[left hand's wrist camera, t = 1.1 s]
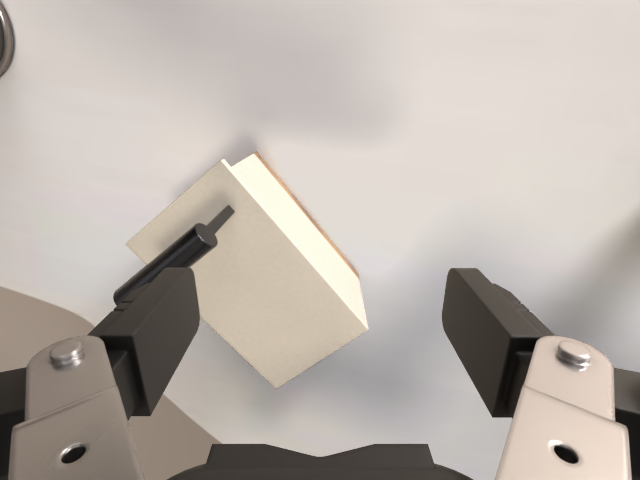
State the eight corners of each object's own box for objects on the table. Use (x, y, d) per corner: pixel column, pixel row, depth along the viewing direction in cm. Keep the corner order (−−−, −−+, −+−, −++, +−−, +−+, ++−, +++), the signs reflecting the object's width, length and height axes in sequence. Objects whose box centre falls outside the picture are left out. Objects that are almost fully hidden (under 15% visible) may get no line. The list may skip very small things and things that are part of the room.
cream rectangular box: (184, 213, 37) (137, 246, 28) (256, 151, 34) (231, 166, 25) (288, 322, 41) (277, 382, 32) (358, 274, 39) (368, 324, 30)
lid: (130, 240, 27) (60, 287, 20) (224, 158, 25) (182, 178, 18) (277, 382, 32) (262, 461, 25) (367, 324, 30) (380, 393, 23)
